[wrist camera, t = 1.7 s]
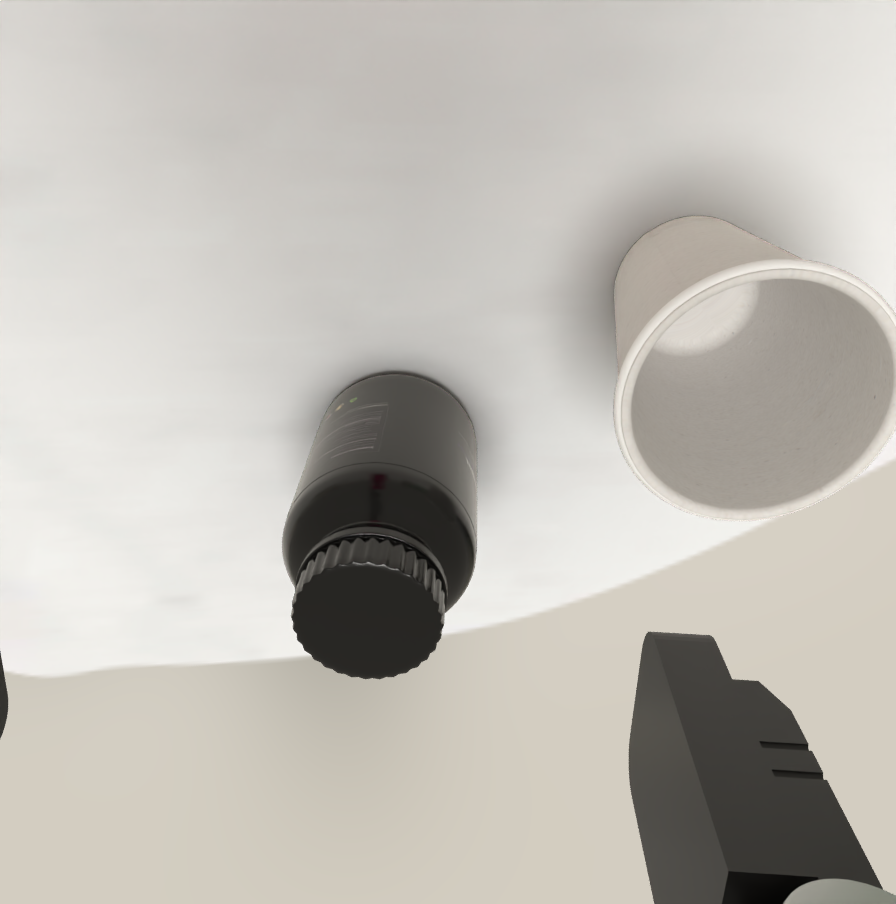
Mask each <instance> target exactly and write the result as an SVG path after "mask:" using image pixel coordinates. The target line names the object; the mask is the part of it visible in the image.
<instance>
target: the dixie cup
mask: <svg viewBox="0 0 896 904" xmlns="http://www.w3.org/2000/svg"><path fill="white" fill-rule="evenodd" d="M614 304H615V324H616V343H617V363H618V380H617V384H616V388H615V394H614V405H613V416H614V426H615V432H616V436H617V440H618V443H619V446H620V449H621V452H622V454H623V456H624V458H625V460H626V462H627V464H628V465H629V467H630V468H631V470H632V471H633V473H634V474H635V475H636V477H637V478H638V479H639V480H640V481H641V482H642V483H643V484H644V485H645V486H646V487H647V488H648V489H649V490H650V491H651V492H652V493H654V494H655V495H656V496H657V497H659V498H660V499H662V500H663V501H665V502H667V503H668V504H670V505H672V506H674V507H676V508H678V509H680V510H683V511H685V512H688V513H691V514H694V515H697V516H701V517H705V518H710V519H715V520H724V521H755V520H763V519H769V518H775V517H779V516H783V515H787V514H790V513H793V512H796V511H799V510H802V509H804V508H807V507H809V506H812V505H814V504H816V503H818V502H820V501H822V500H824V499H826V498H828V497H829V496H831V495H833V494H834V493H836V492H838V491H839V490H840V489H842V488H843V487H845V486H846V485H848V484H849V483H850V482H851V481H853V480H854V479H855V478H856V477H858V476H859V475H860V474H861V473H862V472H863V471H864V470H865V469H866V468H867V467H868V466H869V465H870V464H871V463H872V462H873V461H874V460H875V459H876V457H877V456H878V455H879V454H880V453H881V451H882V450H883V449H884V447H885V446H886V444H887V443H888V441H889V440H890V438H891V437H892V435H893V433H894V431H895V430H896V314H895V313H894V311H893V310H892V308H891V307H890V305H889V304H888V303H887V302H886V301H885V299H884V298H883V297H882V296H881V295H880V294H879V293H878V292H877V291H875V290H874V289H873V288H872V287H871V286H869V285H868V284H867V283H865V282H864V281H862V280H861V279H859V278H858V277H856V276H854V275H852V274H850V273H848V272H846V271H844V270H841V269H839V268H836V267H833V266H830V265H827V264H823V263H819V262H814V261H808V260H803V259H801V258H799V257H797V256H795V255H793V254H791V253H789V252H787V251H785V250H783V249H781V248H779V247H777V246H775V245H773V244H771V243H769V242H767V241H764V240H762V239H760V238H758V237H756V236H754V235H752V234H750V233H748V232H746V231H744V230H742V229H740V228H738V227H736V226H734V225H732V224H730V223H728V222H726V221H724V220H721V219H718V218H714V217H708V216H687V217H682V218H677V219H674V220H671V221H668V222H666V223H663V224H661V225H659V226H657V227H656V228H654V229H652V230H651V231H649V232H647V233H646V234H644V235H643V236H642V237H641V238H640V239H639V240H638V241H637V242H636V243H635V244H634V245H633V246H632V247H631V249H630V250H629V251H628V253H627V254H626V256H625V257H624V259H623V261H622V263H621V265H620V268H619V270H618V273H617V276H616V281H615V287H614Z"/></svg>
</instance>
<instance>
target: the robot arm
mask: <svg viewBox="0 0 896 904" xmlns="http://www.w3.org/2000/svg"><path fill="white" fill-rule="evenodd" d="M7 712H8V694H7V688H6V682H5V677H4V671H3V665H2V659H1V653H0V738H1V736H2V733H3V730H4V727H5V723H6V719H7ZM629 778H630V788H631V794H632V799H633V804H634V809H635V813H636V818H637V823H638V828H639V832H640V837H641V842H642V847H643V851H644V856H645V861H646V865H647V871H648V875H649V880H650V885H651V890H652V894H653V899H654V903H655V904H896V896H895V895H893V894H891V893H889V892H887V891H884V890H883V888H882V886H881V884H880V882H879V880H878V878H877V877H876V875H875V873H874V871H873V869H872V867H871V865H870V863H869V861H868V859H867V857H866V855H865V853H864V851H863V849H862V848H861V845H860V844H859V842H858V840H857V838H856V836H855V834H854V832H853V830H852V828H851V826H850V824H849V822H848V820H847V818H846V816H845V814H844V812H843V810H842V808H841V807H840V805H839V803H838V801H837V799H836V797H835V795H834V793H833V791H832V789H831V787H830V785H829V783H828V781H827V780H823V772H822V770H821V768H820V766H819V764H818V762H817V760H816V758H815V756H814V754H813V752H812V751H809V750H808V743H807V741H806V739H805V737H804V735H803V733H802V731H801V729H800V727H799V725H798V723H797V721H796V719H795V718H794V715H793V714H792V711H791V710H790V709H789V708H788V707H787V706H785V705H784V704H783V703H782V702H781V701H780V700H779V699H778V698H777V697H775V696H774V695H773V694H772V693H771V692H770V691H769V690H768V689H767V688H765V687H764V686H763V685H762V684H761V683H760V682H759V681H749V680H733V679H732V678H731V676H730V674H729V671H728V669H727V666H726V664H725V662H724V660H723V657H722V655H721V653H720V650H719V648H718V646H717V644H716V641H715V640H714V638H713V637H712V636H710V635H696V634H679V633H661V632H648V633H647V634H646V636H645V639H644V643H643V648H642V654H641V661H640V668H639V675H638V683H637V690H636V697H635V704H634V711H633V719H632V726H631V733H630V743H629Z"/></svg>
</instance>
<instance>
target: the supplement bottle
mask: <svg viewBox="0 0 896 904" xmlns="http://www.w3.org/2000/svg"><path fill="white" fill-rule="evenodd" d="M282 552H283V559H284V564H285V567H286V570H287V573H288V575H289V577H290V580H291V582H292V584H293V585H294V587H295V594H294V597H293V601H292V607H293V608H292V612H291V618H292V620H293V630H294V631H295V632H296V633H297V640H298V641H299V642H300V643H301V644H302V645H303V648H304V650H305V651H306V652H308V653H309V654H311V655H312V657H313V659H314V660H317V661H319V662H321V663H322V664H323V665H324V666H325V667H327V668H330V669H333V670H334V671H336V672H337V673H341V674H346V675H348V676H350V677H360V678H363V679H370V678H376V679H382V678H384V677H394V676H396V675H398V674H401V673H407V672H408V671H409V670H410V669H412V668H416V667H418V666H419V665H420V663H421V662H423V661H425V660H427V659H428V657H429V654H430V653H431V652H433V651H434V650H435V649H436V645H437V642H438V641H439V640H440V639H441V635H442V628H443V626H444V615H445V613H446V612H447V611H448V610H449V609H450V608H451V607H452V606H453V605H454V604H455V603H456V602H457V601H458V600H459V599H460V597H461V596H462V595H463V593H464V592H465V590H466V588H467V587H468V585H469V582H470V580H471V578H472V575H473V572H474V568H475V562H476V552H477V444H476V437H475V432H474V429H473V425H472V423H471V421H470V419H469V417H468V415H467V413H466V412H465V410H464V409H463V407H462V406H461V405H460V404H459V402H458V401H457V400H456V399H455V398H454V397H453V396H452V395H451V394H449V393H448V392H447V391H446V390H444V389H443V388H441V387H439V386H438V385H436V384H434V383H432V382H430V381H427V380H425V379H422V378H419V377H415V376H410V375H403V374H386V375H379V376H374V377H370V378H367V379H364V380H362V381H360V382H358V383H355V384H354V385H352V386H350V387H349V388H347V389H346V390H345V391H343V392H342V393H341V394H340V395H339V396H338V397H337V398H336V399H335V400H334V401H333V402H332V404H331V405H330V406H329V408H328V409H327V411H326V413H325V415H324V417H323V419H322V421H321V424H320V426H319V429H318V431H317V434H316V437H315V440H314V442H313V445H312V448H311V451H310V454H309V456H308V459H307V462H306V465H305V468H304V470H303V473H302V476H301V479H300V482H299V484H298V487H297V490H296V493H295V496H294V499H293V501H292V504H291V507H290V510H289V513H288V516H287V519H286V523H285V527H284V531H283V537H282Z"/></svg>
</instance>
